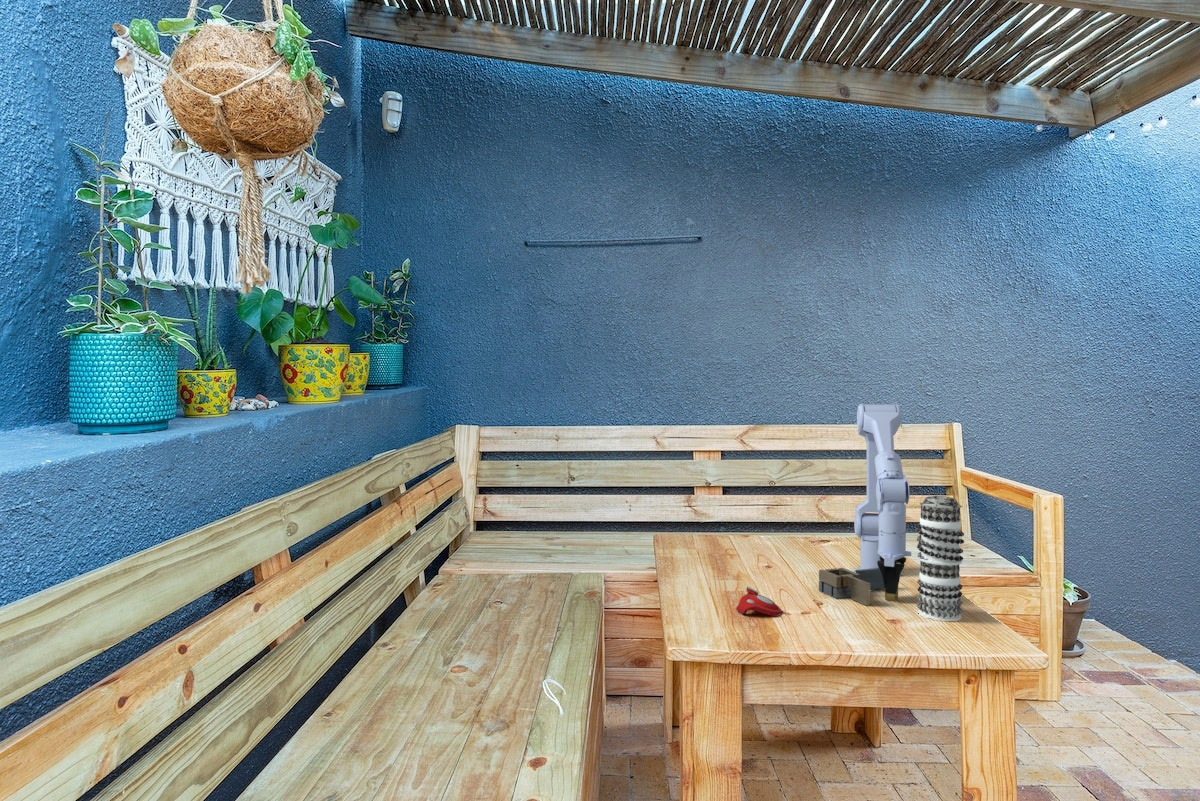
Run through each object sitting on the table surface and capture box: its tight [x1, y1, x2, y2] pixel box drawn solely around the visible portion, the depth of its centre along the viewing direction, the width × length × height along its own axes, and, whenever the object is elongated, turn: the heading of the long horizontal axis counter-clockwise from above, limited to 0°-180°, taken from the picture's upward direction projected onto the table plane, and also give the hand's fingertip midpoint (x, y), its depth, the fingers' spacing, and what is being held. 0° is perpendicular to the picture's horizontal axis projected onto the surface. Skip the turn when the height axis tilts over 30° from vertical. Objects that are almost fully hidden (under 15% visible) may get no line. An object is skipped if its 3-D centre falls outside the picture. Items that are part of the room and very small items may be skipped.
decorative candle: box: [915, 495, 965, 622], centre depth 152 cm, size 9×9×25 cm
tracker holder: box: [735, 585, 782, 617], centre depth 157 cm, size 12×4×10 cm
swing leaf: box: [818, 567, 871, 606], centre depth 165 cm, size 13×7×5 cm, turn 19°
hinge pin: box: [884, 561, 900, 602], centre depth 163 cm, size 4×4×9 cm
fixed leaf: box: [818, 568, 885, 600], centre depth 170 cm, size 16×7×5 cm, turn 109°
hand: (891, 591), depth 163 cm, fingers closed on hinge pin, 3 cm apart
